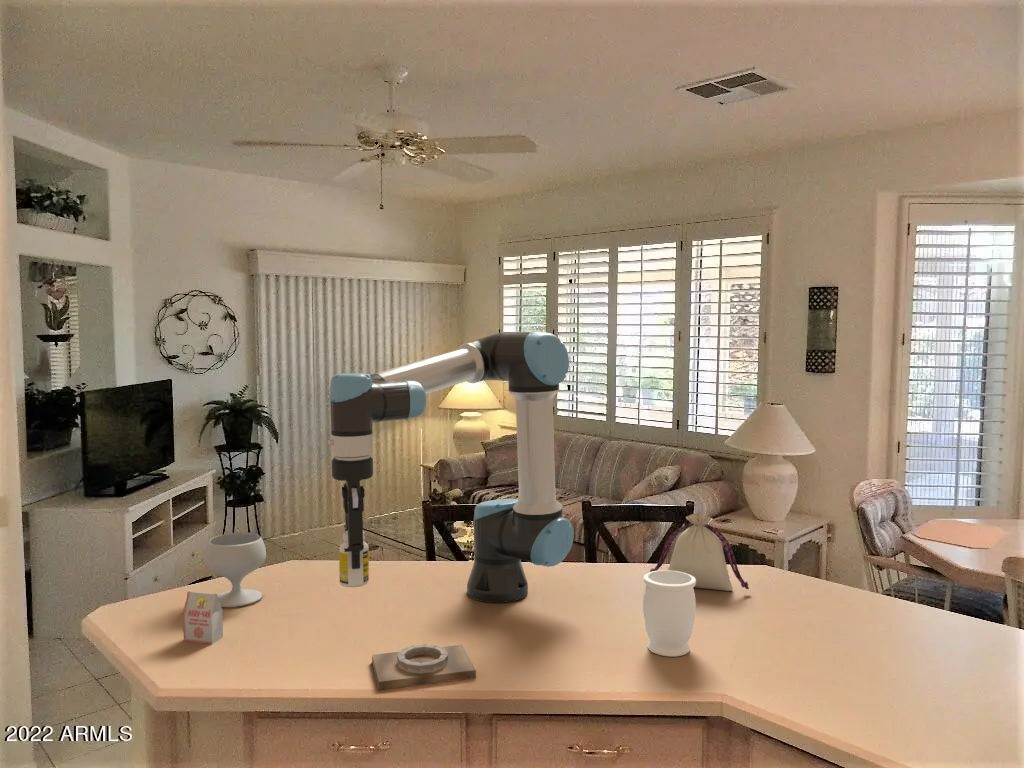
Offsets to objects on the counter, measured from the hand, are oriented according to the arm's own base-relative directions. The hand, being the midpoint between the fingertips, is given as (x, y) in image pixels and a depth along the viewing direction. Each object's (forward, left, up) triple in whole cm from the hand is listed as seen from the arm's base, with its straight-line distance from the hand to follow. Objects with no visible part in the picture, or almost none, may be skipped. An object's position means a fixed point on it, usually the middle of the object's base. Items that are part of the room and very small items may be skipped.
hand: (354, 579), depth 142 cm
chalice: (+25, -48, -19) cm, 57 cm away
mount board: (-12, +2, -18) cm, 22 cm away
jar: (-62, +6, -19) cm, 65 cm away
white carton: (+30, -25, -19) cm, 43 cm away
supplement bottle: (0, 0, -1) cm, 1 cm away
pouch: (-88, -26, -19) cm, 93 cm away
